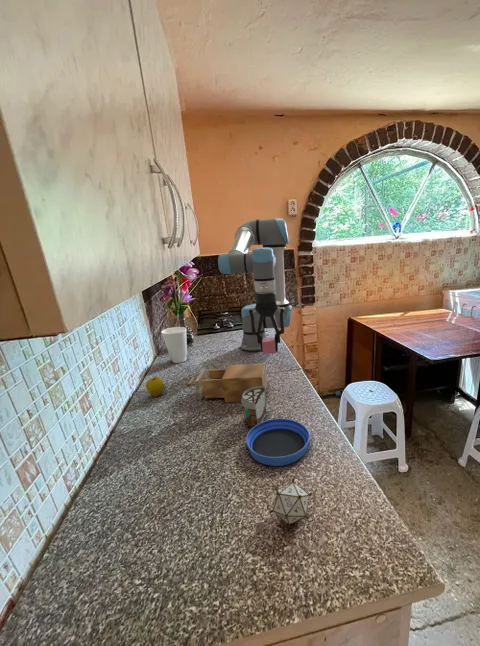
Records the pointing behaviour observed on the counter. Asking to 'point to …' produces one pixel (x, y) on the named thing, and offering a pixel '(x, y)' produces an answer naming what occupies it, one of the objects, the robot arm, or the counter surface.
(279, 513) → the game die
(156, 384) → the apple
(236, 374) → the cabinet
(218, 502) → the counter surface
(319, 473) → the counter surface
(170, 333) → the cup
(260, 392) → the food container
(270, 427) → the bowl
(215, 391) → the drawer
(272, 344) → the block
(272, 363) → the counter surface
